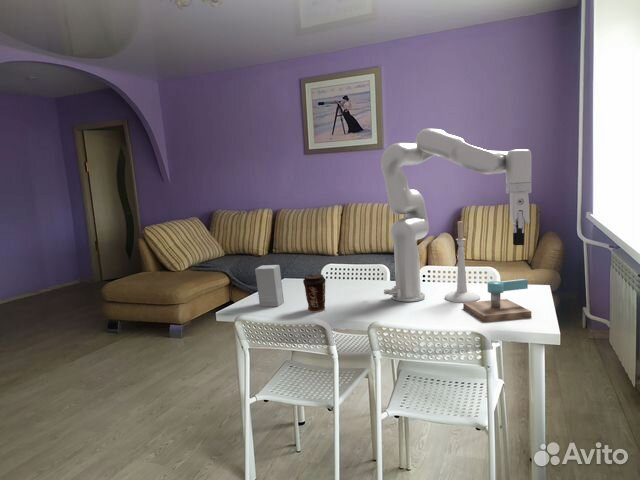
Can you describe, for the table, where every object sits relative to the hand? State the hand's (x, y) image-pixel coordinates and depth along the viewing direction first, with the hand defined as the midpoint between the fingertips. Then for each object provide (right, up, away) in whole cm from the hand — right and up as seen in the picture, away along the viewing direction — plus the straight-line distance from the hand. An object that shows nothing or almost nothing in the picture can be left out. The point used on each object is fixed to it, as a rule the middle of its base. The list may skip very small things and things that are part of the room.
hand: (518, 244), depth 151 cm
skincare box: (-85, -25, +34) cm, 94 cm away
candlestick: (-11, -21, +26) cm, 35 cm away
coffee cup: (-66, -25, +22) cm, 74 cm away
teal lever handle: (-2, -15, +5) cm, 16 cm away
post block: (-5, -23, +5) cm, 24 cm away
